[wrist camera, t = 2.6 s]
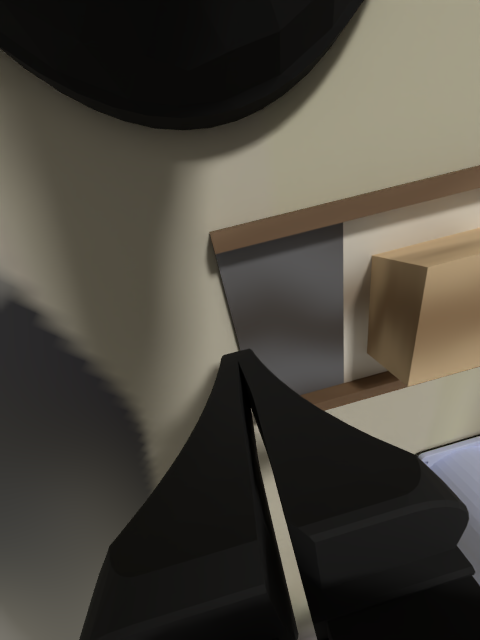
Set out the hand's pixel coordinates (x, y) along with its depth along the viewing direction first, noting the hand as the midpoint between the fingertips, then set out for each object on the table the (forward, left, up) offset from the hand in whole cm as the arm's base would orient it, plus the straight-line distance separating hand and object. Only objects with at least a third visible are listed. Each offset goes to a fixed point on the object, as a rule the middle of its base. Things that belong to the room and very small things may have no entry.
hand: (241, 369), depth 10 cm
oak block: (0, -11, -2) cm, 11 cm away
